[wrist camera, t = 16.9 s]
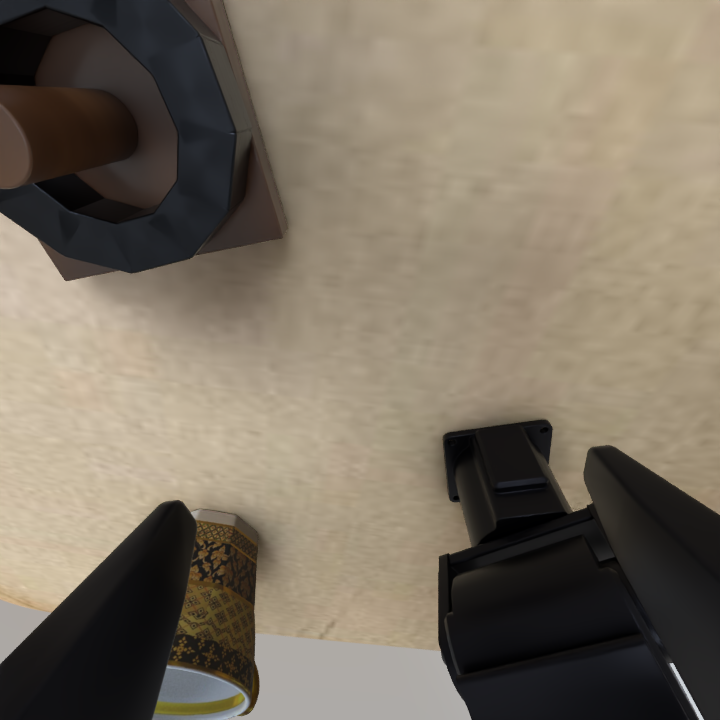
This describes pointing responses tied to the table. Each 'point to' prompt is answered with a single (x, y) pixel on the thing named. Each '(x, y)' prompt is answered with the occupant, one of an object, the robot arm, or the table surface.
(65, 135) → the peg stand
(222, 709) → the ceramic cup
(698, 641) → the robot arm
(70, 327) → the table surface
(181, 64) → the ring
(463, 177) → the table surface
